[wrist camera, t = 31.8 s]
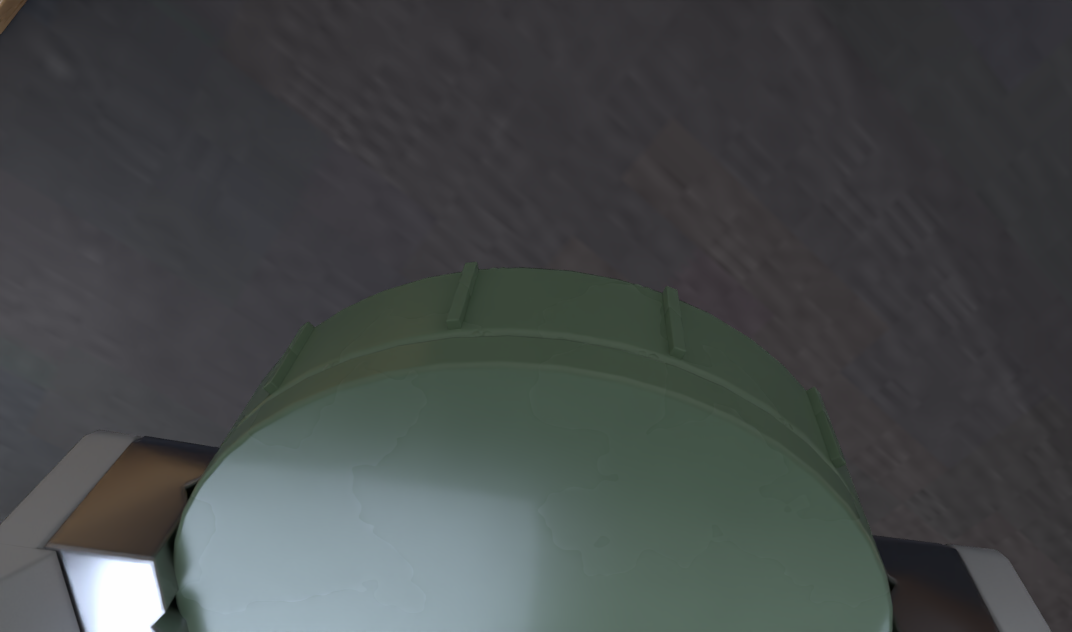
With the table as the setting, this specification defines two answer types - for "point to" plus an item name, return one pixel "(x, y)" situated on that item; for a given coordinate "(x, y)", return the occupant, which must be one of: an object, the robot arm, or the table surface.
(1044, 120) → the table surface
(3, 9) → the cork board
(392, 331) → the lid
